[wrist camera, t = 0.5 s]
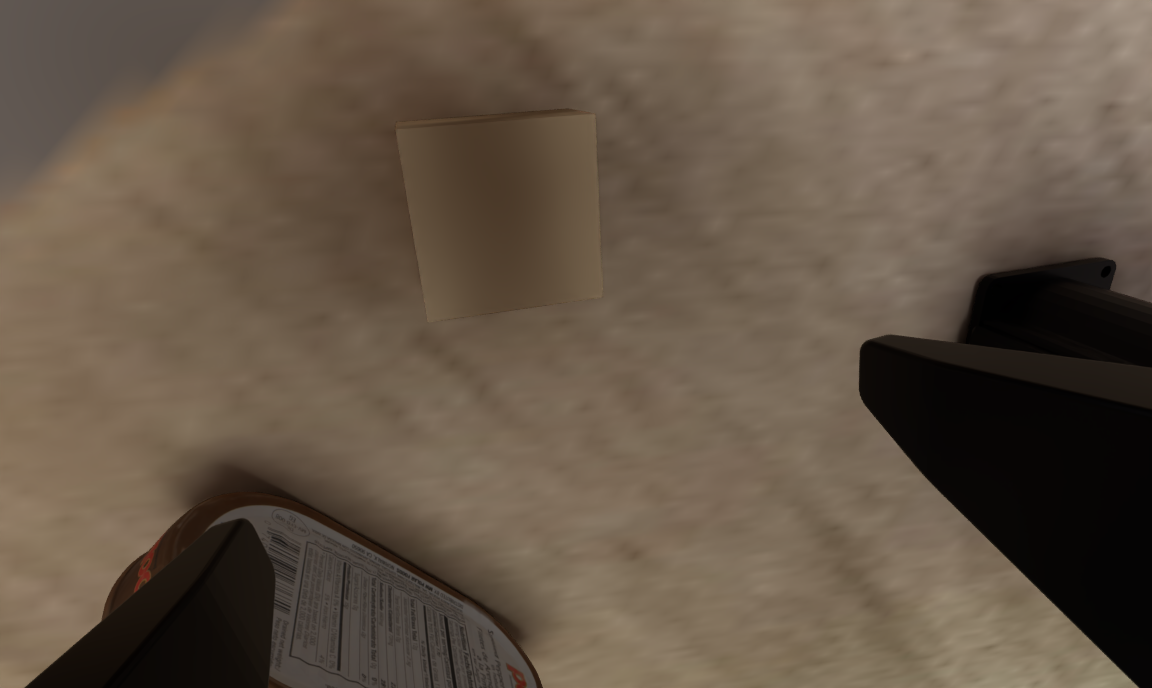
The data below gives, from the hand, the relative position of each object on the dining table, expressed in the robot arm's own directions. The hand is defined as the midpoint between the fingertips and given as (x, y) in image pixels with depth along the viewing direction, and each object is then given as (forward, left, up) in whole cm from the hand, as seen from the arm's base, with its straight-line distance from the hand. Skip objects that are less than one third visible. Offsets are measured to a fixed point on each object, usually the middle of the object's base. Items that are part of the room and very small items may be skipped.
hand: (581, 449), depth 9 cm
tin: (+5, +12, -12) cm, 18 cm away
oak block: (0, -1, -12) cm, 12 cm away
